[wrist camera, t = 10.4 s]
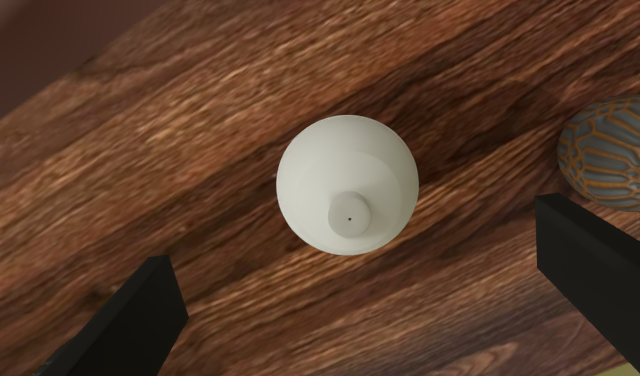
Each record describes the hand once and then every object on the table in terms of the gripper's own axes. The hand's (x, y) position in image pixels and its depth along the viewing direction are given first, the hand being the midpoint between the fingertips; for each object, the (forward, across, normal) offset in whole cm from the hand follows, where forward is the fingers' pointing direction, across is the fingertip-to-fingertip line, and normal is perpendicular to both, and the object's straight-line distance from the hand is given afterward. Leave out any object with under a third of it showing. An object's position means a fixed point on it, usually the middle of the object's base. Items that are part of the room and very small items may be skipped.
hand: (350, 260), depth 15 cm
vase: (+16, +17, -2) cm, 23 cm away
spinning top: (+16, 0, 0) cm, 16 cm away
